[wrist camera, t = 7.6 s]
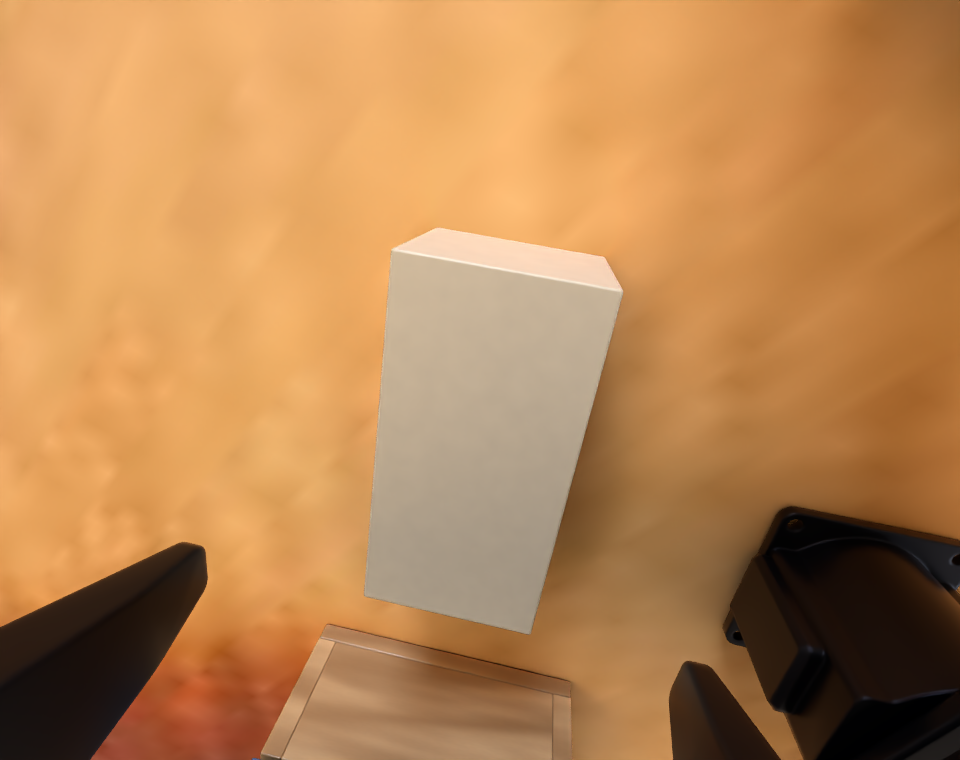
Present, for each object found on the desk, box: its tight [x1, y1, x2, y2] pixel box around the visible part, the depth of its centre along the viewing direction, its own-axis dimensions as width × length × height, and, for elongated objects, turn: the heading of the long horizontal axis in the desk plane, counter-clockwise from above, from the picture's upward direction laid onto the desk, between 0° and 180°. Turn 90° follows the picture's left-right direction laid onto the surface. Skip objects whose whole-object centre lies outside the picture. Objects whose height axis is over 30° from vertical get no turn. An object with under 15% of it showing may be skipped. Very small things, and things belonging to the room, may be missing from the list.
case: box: [364, 228, 623, 635], centre depth 16 cm, size 11×5×5 cm, turn 171°
